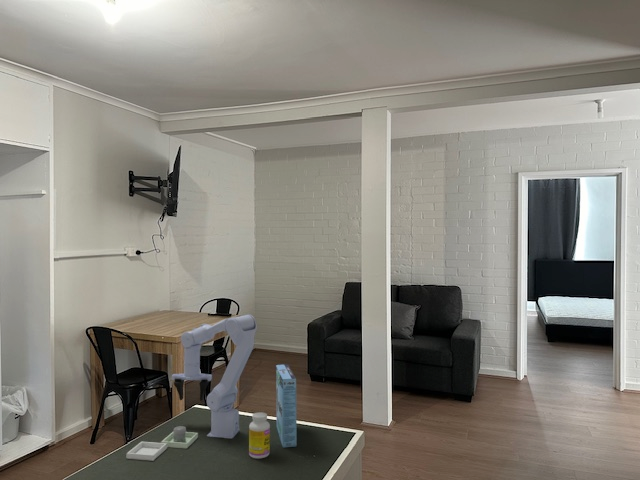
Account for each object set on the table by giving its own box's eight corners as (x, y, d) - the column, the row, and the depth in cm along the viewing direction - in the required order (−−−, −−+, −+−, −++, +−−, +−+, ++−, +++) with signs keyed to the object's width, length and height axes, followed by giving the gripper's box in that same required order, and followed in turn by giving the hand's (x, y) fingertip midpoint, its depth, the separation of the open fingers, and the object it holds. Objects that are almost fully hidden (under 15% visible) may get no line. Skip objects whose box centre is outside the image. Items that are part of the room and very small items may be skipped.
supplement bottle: (265, 460, 150) (266, 419, 150) (245, 458, 151) (246, 417, 151) (272, 451, 156) (272, 412, 156) (253, 449, 157) (253, 410, 158)
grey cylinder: (187, 439, 163) (187, 426, 163) (182, 444, 160) (182, 431, 160) (176, 439, 164) (177, 425, 164) (171, 443, 160) (171, 430, 160)
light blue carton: (296, 447, 160) (297, 378, 160) (281, 448, 159) (282, 379, 159) (288, 425, 179) (289, 363, 179) (275, 426, 178) (275, 364, 178)
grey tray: (166, 449, 157) (166, 443, 157) (153, 461, 148) (153, 455, 148) (141, 447, 158) (141, 441, 158) (126, 459, 149) (126, 453, 149)
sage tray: (197, 438, 166) (198, 432, 166) (186, 449, 157) (186, 443, 157) (173, 436, 167) (173, 431, 167) (161, 447, 158) (161, 441, 158)
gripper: (169, 365, 175) (168, 402, 175) (208, 366, 174) (207, 403, 174) (175, 360, 182) (175, 396, 182) (213, 361, 181) (213, 397, 181)
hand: (191, 399), depth 178 cm, fingers open, 7 cm apart
